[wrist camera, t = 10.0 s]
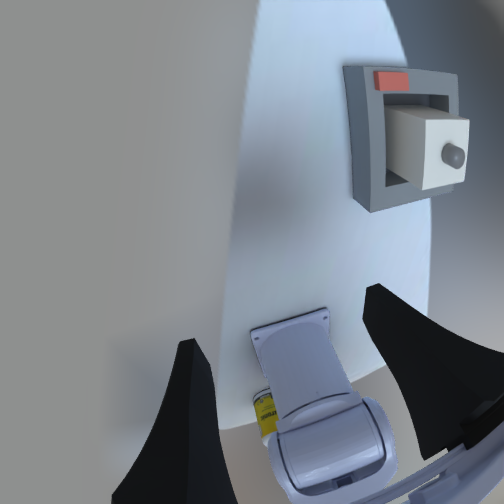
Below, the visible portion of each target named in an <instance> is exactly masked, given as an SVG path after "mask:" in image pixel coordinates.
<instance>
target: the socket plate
mask: <svg viewBox="0 0 504 504" xmlns="http://www.w3.org/2000/svg"><path fill="white" fill-rule="evenodd" d="M343 71H344V78H345V85H346V93H347V102H348V112H349V122H350V134H351V148H352V167H353V198H354V199H355V200H356V201H357V202H358V203H359V204H360V205H362V206H363V207H364V208H365V209H366V210H367V211H368V212H369V213H372V212H376V211H380V210H384V209H388V208H391V207H395V206H399V205H403V204H407V203H411V202H414V201H418V200H422V199H426V198H430V197H434V196H438V195H442V194H445V193H449V192H453V185H454V183H453V184H449V185H444V186H440V187H435V188H430V189H426V190H421V189H419V188H418V187H416V186H415V185H413V184H412V183H410V182H409V181H407V180H405V179H404V178H402V177H401V176H399V175H397V174H396V173H394V172H392V171H391V170H389V169H387V168H386V144H385V118H384V105H423V106H427V107H431V108H434V109H438V110H441V111H444V112H447V113H450V114H453V115H456V116H458V79H457V75H456V74H450V73H444V72H438V71H431V70H421V69H412V68H398V67H375V66H347V67H343Z"/></svg>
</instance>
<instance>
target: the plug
mask: <svg viewBox="0 0 504 504" xmlns="http://www.w3.org/2000/svg"><path fill="white" fill-rule="evenodd" d="M384 118H385V144H386V168H387V169H389V170H391V171H392V172H394V173H396V174H397V175H399V176H401V177H402V178H404V179H405V180H407V181H409V182H410V183H412V184H413V185H415V186H416V187H418V188H419V189H421V190H426V189H430V188H435V187H440V186H444V185H449V184H453V183H458V182H463V181H464V177H465V168H466V161H467V150H468V137H469V120H468V119H465V118H462V117H459V116H456V115H453V114H450V113H447V112H444V111H441V110H438V109H434V108H431V107H427V106H423V105H384Z"/></svg>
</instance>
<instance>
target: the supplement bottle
mask: <svg viewBox="0 0 504 504" xmlns="http://www.w3.org/2000/svg"><path fill="white" fill-rule="evenodd" d="M253 403H254V408H255V412H256V417H257V421H258V425H259V430H260V434H261V438H262V441H263V444H264V445H265V446H267V447H268V440H269V438H270V436H271V433H272V432H275V431H278V429H277V426H276V421H279V418H278V414H277V411H276V407H275V404H274V400H273V397H272V393H271V389H267V390H264V391H262V392H260V393H258V394H257V395H256V396H255V397H254V400H253Z"/></svg>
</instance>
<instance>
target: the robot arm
mask: <svg viewBox="0 0 504 504" xmlns="http://www.w3.org/2000/svg"><path fill="white" fill-rule="evenodd" d="M362 319H363V322H364V324H365V326H366V328H367V331H368V333H369V335H370V337H371V339H372V341H373V342H374V344H375V346H376V347H377V349H378V351H379V352H380V354H381V356H382V357H383V359H384V361H385V362H386V364H387V366H388V367H389V369H390V371H391V372H392V374H393V376H394V378H395V379H396V381H397V383H398V385H399V388H400V390H401V392H402V395H403V397H404V400H405V402H406V405H407V408H408V410H409V413H410V416H411V419H412V422H413V425H414V428H415V432H416V435H417V439H418V443H419V448H420V452H421V455H422V458H423V459H424V460H427V459H428V458H430V457H432V456H434V455H435V454H437V453H439V452H440V451H442V450H443V449H445V448H447V450H448V453H447V454H445V455H444V456H442V457H441V458H439V459H437V460H436V461H434V462H433V463H431V464H429V465H428V466H426V467H424V468H423V469H421V470H419V471H417V472H416V473H414V474H412V475H410V476H409V477H407V478H405V479H403V480H401V481H399V482H397V483H395V484H393V485H391V486H389V487H387V488H385V486H386V485H387V484H388V482H389V481H390V480H391V479H392V477H393V476H394V474H395V473H396V471H397V469H398V467H397V463H398V459H397V455H396V451H395V438H394V435H393V431H392V428H391V425H390V422H389V420H388V418H387V416H386V414H385V412H384V410H383V408H382V407H381V405H380V404H379V403H378V402H377V401H376V400H374V399H371V398H370V397H364V398H362V399H361V397H360V395H359V392H358V391H356V392H354V391H353V389H352V387H351V384H350V382H349V380H348V378H347V376H346V374H345V371H344V369H343V367H342V365H341V363H340V361H339V359H338V357H337V354H336V352H335V350H334V348H333V346H332V344H331V342H330V340H329V327H330V312H329V310H328V309H322V310H319V311H316V312H313V313H310V314H307V315H303V316H300V317H297V318H294V319H290V320H287V321H284V322H280V323H277V324H273V325H270V326H266V327H263V328H259V329H256V330H253V331H251V333H250V335H251V339H252V342H253V345H254V348H255V351H256V353H257V356H258V359H259V362H260V365H261V368H262V371H263V374H264V377H265V378H267V379H268V382H269V386H270V389H271V393H272V397H273V400H274V404H275V407H276V411H277V414H278V418H279V421H276V426H277V429H278V431H275V432H272V433H271V436H270V438H269V440H268V454H269V459H270V463H271V466H272V469H273V472H274V474H275V477H276V479H277V481H278V483H279V484H280V486H281V487H282V488H283V489H284V490H285V492H286V494H287V496H288V498H289V500H290V502H292V503H293V504H385V503H387V502H390V501H392V500H393V499H396V498H398V497H400V496H402V495H404V494H405V493H407V492H409V491H411V490H413V489H414V488H416V487H418V486H420V485H422V484H423V483H425V482H427V481H429V480H430V479H432V478H433V477H435V476H436V475H438V474H440V476H439V478H437V479H434V480H432V481H430V482H428V483H426V484H424V485H423V486H421V487H419V488H418V489H416V490H415V491H413V492H412V493H410V494H409V495H408V497H409V500H408V501H405V502H403V503H401V504H479V503H480V502H481V501H482V500H483V499H484V498H485V497H486V496H487V495H488V494H489V493H490V492H491V491H492V490H493V489H494V488H495V487H496V486H497V484H499V482H500V481H501V480H502V479H503V478H504V353H502V352H498V351H495V350H492V349H489V348H486V347H484V346H481V345H478V344H476V343H474V342H471V341H469V340H467V339H464V338H462V337H460V336H458V335H456V334H455V333H453V332H450V331H449V330H447V329H445V328H444V327H442V326H440V325H438V324H437V323H435V322H434V321H432V320H431V319H429V318H427V317H426V316H424V315H423V314H421V313H420V312H419V311H417V310H416V309H414V308H413V307H411V306H410V305H409V304H407V303H406V302H404V301H403V300H402V299H400V298H399V297H397V296H396V295H395V294H393V293H392V292H391V291H389V290H388V289H386V288H385V287H384V286H382V285H381V284H379V283H378V284H375V285H372V286H369V287H367V288H366V296H365V304H364V311H363V318H362ZM384 488H385V489H384ZM111 504H238V502H237V500H236V497H235V494H234V491H233V488H232V484H231V481H230V478H229V474H228V471H227V467H226V463H225V459H224V455H223V451H222V447H221V442H220V436H219V428H218V419H217V408H216V398H215V387H214V382H213V377H212V372H211V367H210V364H209V362H208V361H207V359H206V357H205V355H204V354H203V352H202V350H201V349H200V347H199V345H198V344H197V342H196V340H195V338H193V339H189V340H184V341H180V342H179V344H178V348H177V353H176V357H175V361H174V365H173V369H172V372H171V376H170V379H169V383H168V386H167V389H166V393H165V396H164V398H163V401H162V404H161V407H160V410H159V413H158V415H157V418H156V420H155V423H154V425H153V428H152V430H151V432H150V434H149V436H148V438H147V440H146V442H145V444H144V446H143V448H142V450H141V452H140V454H139V456H138V457H137V459H136V461H135V462H134V464H133V466H132V467H131V469H130V471H129V472H128V474H127V475H126V477H125V478H124V479H123V481H122V482H121V483H120V485H119V486H118V488H117V489H116V490H115V492H114V493H113V494H112V501H111Z"/></svg>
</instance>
